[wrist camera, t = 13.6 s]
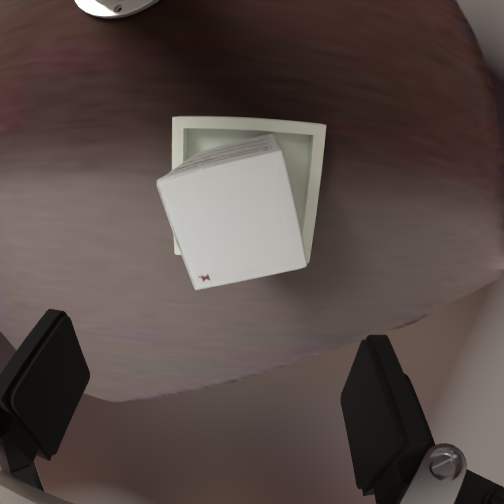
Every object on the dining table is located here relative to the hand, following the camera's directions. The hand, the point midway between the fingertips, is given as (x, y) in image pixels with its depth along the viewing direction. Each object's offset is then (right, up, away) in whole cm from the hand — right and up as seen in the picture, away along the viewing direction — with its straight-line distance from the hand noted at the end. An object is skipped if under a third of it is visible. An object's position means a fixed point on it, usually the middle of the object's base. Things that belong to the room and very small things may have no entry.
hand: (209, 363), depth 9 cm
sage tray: (+1, +10, +21) cm, 23 cm away
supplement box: (+1, +10, +20) cm, 22 cm away
